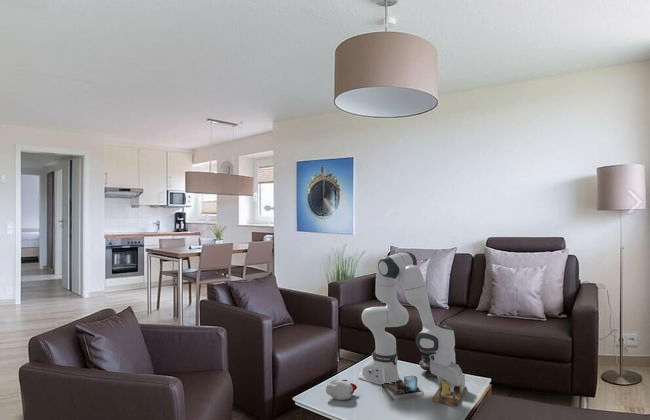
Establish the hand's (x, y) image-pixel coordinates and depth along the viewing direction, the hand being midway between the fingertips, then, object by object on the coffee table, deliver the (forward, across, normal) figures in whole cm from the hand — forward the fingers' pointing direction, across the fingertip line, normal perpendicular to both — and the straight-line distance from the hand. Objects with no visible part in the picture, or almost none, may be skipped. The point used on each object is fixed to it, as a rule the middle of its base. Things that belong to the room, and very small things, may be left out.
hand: (446, 388), depth 200 cm
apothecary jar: (+5, +30, -13) cm, 33 cm away
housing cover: (+4, +7, -9) cm, 12 cm away
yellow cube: (+2, 0, 0) cm, 2 cm away
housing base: (+5, +4, -5) cm, 9 cm away
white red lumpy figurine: (+6, +23, +43) cm, 49 cm away
